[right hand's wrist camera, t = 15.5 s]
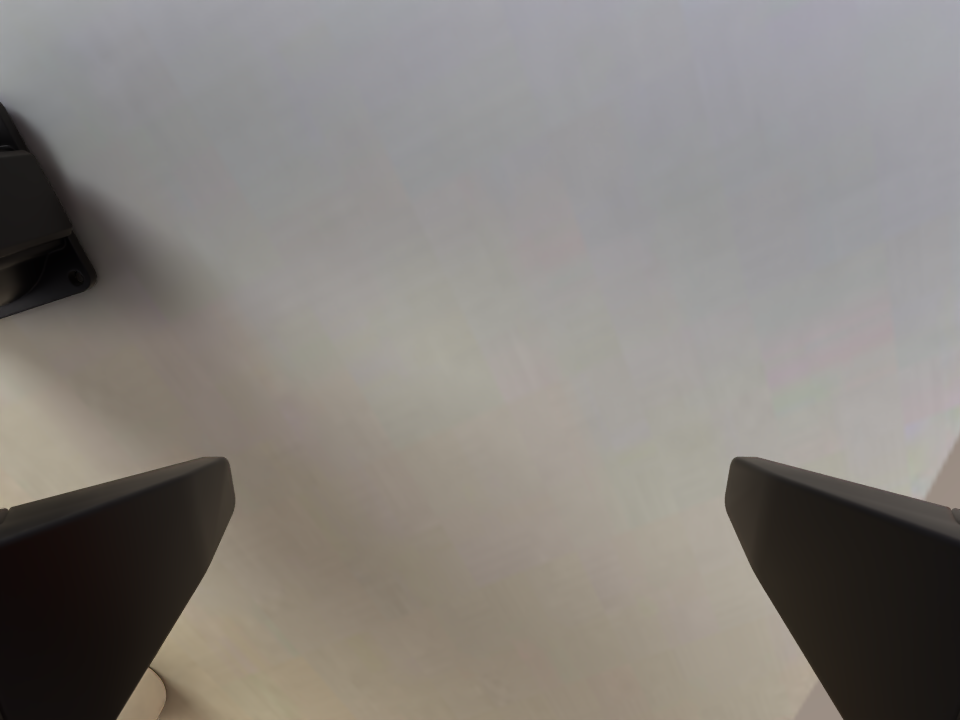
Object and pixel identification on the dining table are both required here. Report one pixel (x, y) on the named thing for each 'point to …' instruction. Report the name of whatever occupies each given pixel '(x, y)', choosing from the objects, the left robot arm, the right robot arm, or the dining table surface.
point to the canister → (145, 699)
